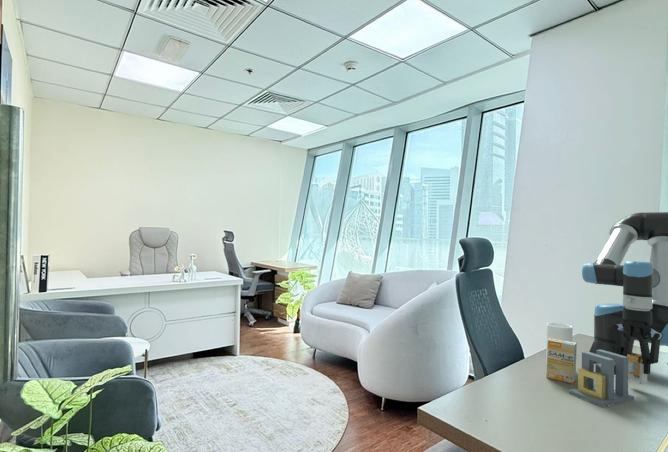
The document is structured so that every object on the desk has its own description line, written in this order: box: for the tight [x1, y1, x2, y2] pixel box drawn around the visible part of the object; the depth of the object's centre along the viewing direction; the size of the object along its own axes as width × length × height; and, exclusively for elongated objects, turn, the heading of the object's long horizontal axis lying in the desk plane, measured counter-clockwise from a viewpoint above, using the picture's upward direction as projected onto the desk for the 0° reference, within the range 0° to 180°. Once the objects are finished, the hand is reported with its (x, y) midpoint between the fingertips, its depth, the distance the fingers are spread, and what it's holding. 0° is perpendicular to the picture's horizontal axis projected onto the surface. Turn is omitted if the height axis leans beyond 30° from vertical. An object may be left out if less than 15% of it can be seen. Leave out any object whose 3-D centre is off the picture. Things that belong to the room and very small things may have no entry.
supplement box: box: [545, 338, 578, 385], centre depth 129 cm, size 8×5×13 cm, turn 50°
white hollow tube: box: [545, 322, 574, 368], centre depth 140 cm, size 8×8×16 cm
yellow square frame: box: [577, 367, 606, 400], centre depth 113 cm, size 2×7×7 cm, turn 23°
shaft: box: [594, 352, 643, 377], centre depth 119 cm, size 20×3×6 cm, turn 113°
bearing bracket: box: [568, 350, 635, 408], centre depth 115 cm, size 15×10×13 cm, turn 113°
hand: (636, 380), depth 122 cm, fingers closed on shaft, 3 cm apart
